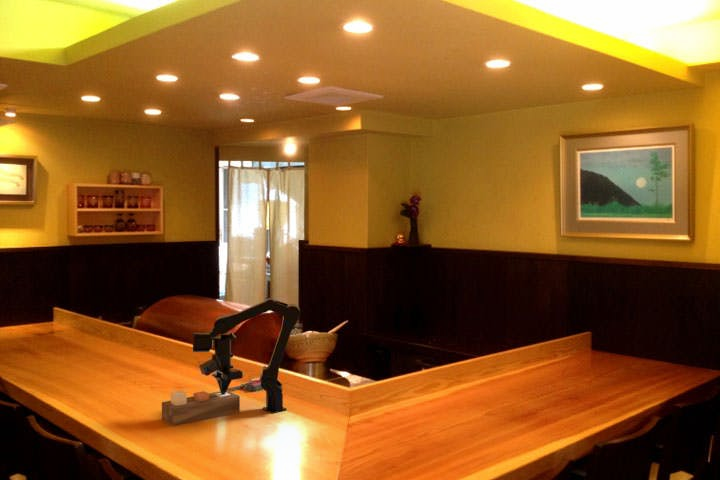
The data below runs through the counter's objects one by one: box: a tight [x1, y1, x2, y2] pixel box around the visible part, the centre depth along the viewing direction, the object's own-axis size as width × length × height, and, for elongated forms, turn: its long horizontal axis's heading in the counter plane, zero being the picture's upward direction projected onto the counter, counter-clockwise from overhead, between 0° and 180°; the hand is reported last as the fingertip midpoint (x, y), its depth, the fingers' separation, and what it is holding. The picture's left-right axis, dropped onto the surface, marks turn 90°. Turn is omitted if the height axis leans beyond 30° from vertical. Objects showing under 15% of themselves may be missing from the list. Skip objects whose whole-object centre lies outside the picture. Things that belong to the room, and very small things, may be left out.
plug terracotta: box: [192, 390, 210, 402], centre depth 246 cm, size 4×4×6 cm
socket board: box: [161, 391, 241, 427], centre depth 246 cm, size 10×25×6 cm, turn 129°
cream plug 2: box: [215, 393, 231, 397], centre depth 252 cm, size 4×4×6 cm
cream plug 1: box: [170, 389, 187, 406], centre depth 241 cm, size 4×4×6 cm
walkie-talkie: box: [227, 377, 264, 393], centre depth 282 cm, size 9×4×20 cm
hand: (223, 394), depth 251 cm, fingers closed, pressing on cream plug 2
